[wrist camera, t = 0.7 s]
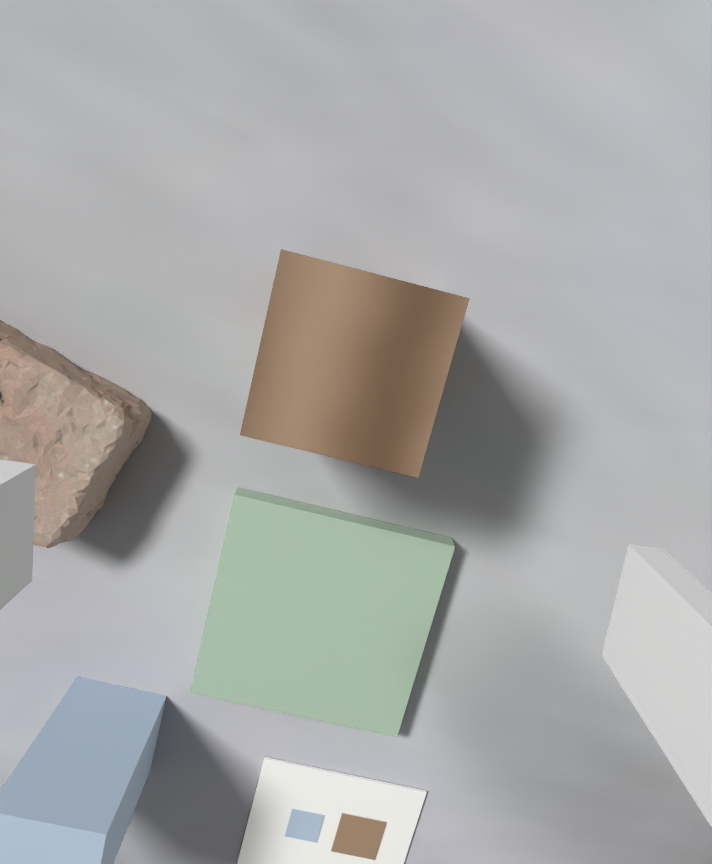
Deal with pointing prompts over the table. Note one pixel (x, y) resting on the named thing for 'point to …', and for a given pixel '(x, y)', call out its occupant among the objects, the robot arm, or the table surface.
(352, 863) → the page
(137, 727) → the bluegrey block
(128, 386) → the table surface
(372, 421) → the walnut block
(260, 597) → the pad
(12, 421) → the brick
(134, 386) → the table surface
